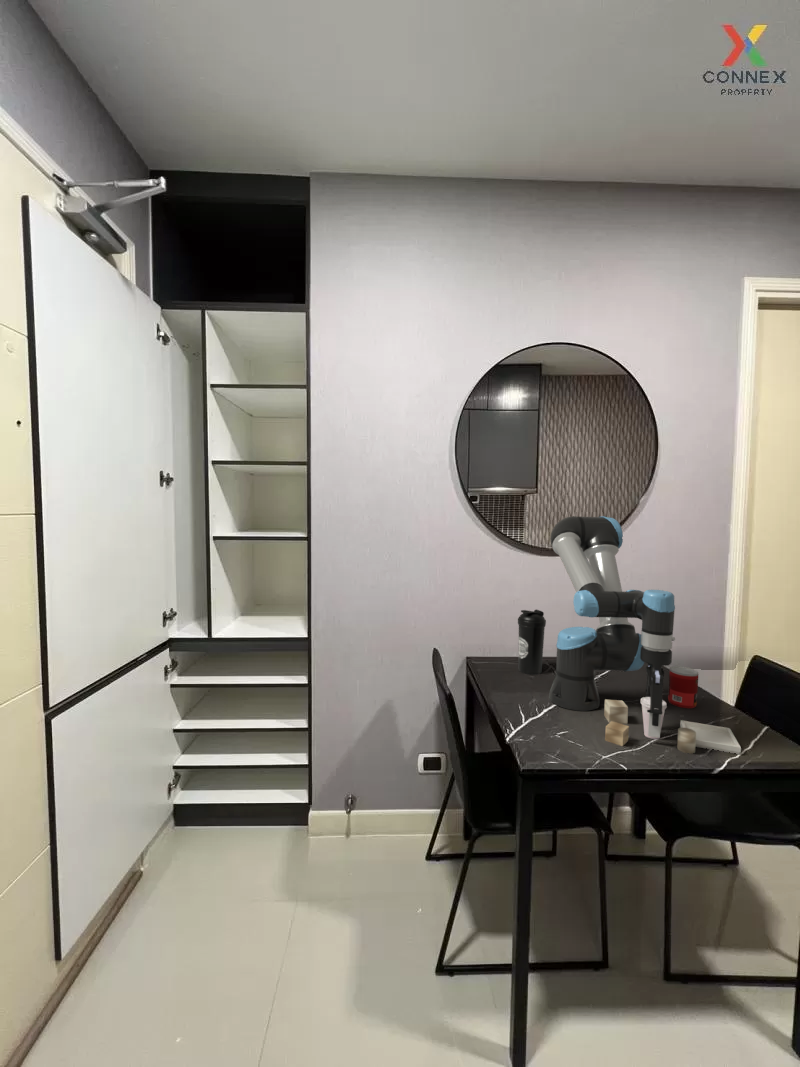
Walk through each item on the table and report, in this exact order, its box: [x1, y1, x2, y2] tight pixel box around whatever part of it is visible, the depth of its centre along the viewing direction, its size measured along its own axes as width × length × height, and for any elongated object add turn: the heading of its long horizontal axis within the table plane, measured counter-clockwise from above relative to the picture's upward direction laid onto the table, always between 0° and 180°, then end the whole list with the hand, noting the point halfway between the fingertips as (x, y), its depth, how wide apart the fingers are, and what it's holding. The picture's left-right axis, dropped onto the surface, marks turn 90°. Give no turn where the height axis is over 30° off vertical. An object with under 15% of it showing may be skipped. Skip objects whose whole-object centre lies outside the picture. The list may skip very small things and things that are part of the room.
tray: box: [679, 719, 742, 755], centre depth 133 cm, size 12×12×2 cm
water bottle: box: [517, 609, 547, 676], centre depth 185 cm, size 10×10×23 cm
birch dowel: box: [676, 727, 696, 755], centre depth 127 cm, size 4×4×5 cm
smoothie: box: [640, 696, 668, 740], centre depth 134 cm, size 6×6×14 cm
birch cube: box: [603, 698, 629, 725], centre depth 144 cm, size 5×5×5 cm
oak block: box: [604, 721, 630, 747], centre depth 131 cm, size 4×4×4 cm
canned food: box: [667, 665, 699, 709], centre depth 157 cm, size 8×8×11 cm
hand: (652, 728), depth 134 cm, fingers open, 9 cm apart
